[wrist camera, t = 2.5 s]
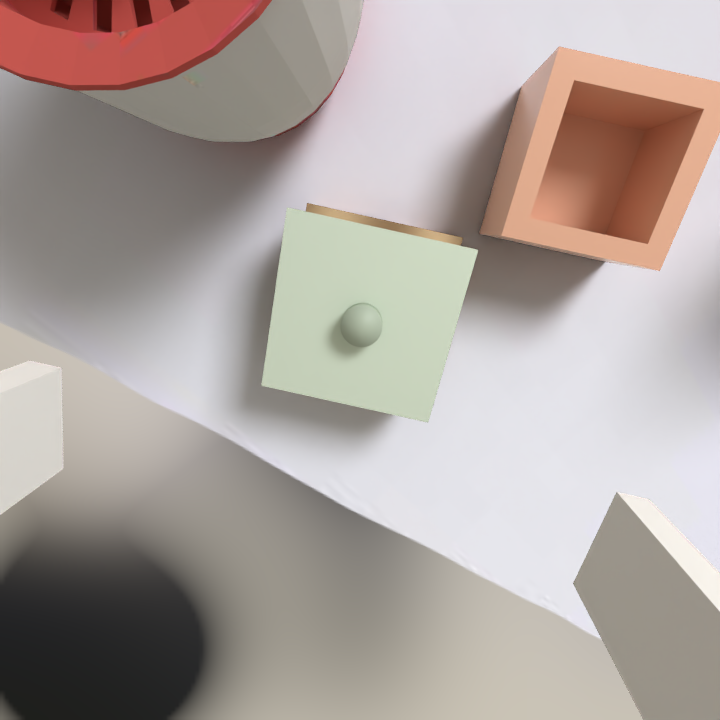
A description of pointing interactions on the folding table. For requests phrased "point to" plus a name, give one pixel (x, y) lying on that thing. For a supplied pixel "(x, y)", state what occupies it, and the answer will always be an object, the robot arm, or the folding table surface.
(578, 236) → the open box
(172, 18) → the citrus juicer
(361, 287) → the lid
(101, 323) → the folding table surface
